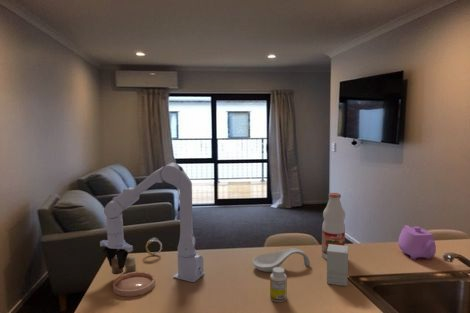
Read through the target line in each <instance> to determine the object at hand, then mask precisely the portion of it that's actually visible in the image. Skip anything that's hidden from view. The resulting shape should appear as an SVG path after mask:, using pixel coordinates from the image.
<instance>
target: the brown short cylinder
mask: <svg viewBox="0 0 470 313" xmlns="http://www.w3.org/2000/svg"><path fill="white" fill-rule="evenodd" d="M111 263H112V267H111V273H112V274H113V275H120V274H121V275H122V273H123V272H124V268H122V269H119V265H118V259H117V256H115V257H113V258H111Z"/></svg>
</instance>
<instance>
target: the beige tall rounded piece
mask: <svg viewBox="0 0 470 313" xmlns="http://www.w3.org/2000/svg"><path fill="white" fill-rule="evenodd" d="M124 272H125V274H127V273H131V272H137V266H136V256H135V255H133V254H132V255H127V258H126V261H125V266H124Z"/></svg>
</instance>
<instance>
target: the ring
mask: <svg viewBox="0 0 470 313" xmlns="http://www.w3.org/2000/svg"><path fill="white" fill-rule="evenodd" d="M153 242H157V243H158V244H159V248H160V249H159V250H158V251H157V252H151V251H150V250H149V249H148V246H149V245H150V244H151V243H153ZM162 250H163V244H162V242H161V241H160V240H159V238H157V237H152V238H150V239H149V240H148V241H147V242H146V244H145V251H146V253H147V254H148V255H149V256H150V255H151V256H153V257H154V256H156V255H159V254H160V253H161V252H162Z"/></svg>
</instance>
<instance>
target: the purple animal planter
mask: <svg viewBox="0 0 470 313" xmlns="http://www.w3.org/2000/svg"><path fill="white" fill-rule="evenodd" d="M398 247H399V249H400V250H401V253H402V254H405V255H409V258H410V259H411V260H417V259H418V258H423V259H427V260H430V259H431V257H434V256H435V254H436V251H437V249H436V248H437V246H436V242H435V237H434V235H433V233H432V232H430V231H428V230H427V229H425V228H422V227H420V226H418V225H417V226H412V227H411V226H409V225H403V228H402V229H401V232H400V234H399V237H398Z"/></svg>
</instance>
